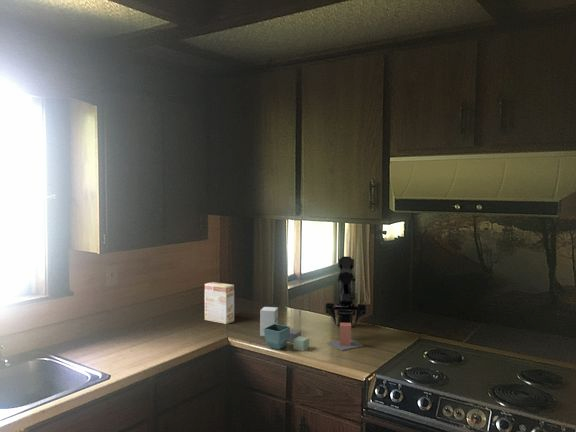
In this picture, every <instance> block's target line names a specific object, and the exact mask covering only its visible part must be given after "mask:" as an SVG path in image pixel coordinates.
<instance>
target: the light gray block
mask: <svg viewBox="0 0 576 432" xmlns="http://www.w3.org/2000/svg"><path fill="white" fill-rule="evenodd" d="M301 335H302V331H301V330H296V329H290V333H289V339H288V341H287V343H291V344H293V339H295V338H297V337H298V336H300V337H302V336H301Z"/></svg>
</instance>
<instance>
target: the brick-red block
mask: <svg viewBox="0 0 576 432" xmlns="http://www.w3.org/2000/svg"><path fill="white" fill-rule="evenodd" d="M339 340H340V346H351V340H352V327H351V323H340V327H339Z"/></svg>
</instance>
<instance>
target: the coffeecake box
mask: <svg viewBox="0 0 576 432" xmlns="http://www.w3.org/2000/svg"><path fill="white" fill-rule="evenodd" d="M204 321H209V322H215V323H217V324H218V323H220V324H224V325H228V324H230V323H233V322H235V284H232V283H231V284H229V283H224V282H223V283H222V282H216V281H212V282H207V283H204Z"/></svg>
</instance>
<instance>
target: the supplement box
mask: <svg viewBox="0 0 576 432" xmlns="http://www.w3.org/2000/svg"><path fill="white" fill-rule="evenodd" d="M259 311H260V312H259V315H260V316H259V317H260V318H259V337H265V334H264V328H266V327H268V326H270V325H272V324H278V325H279V321H278V320H279V318H278V317H279V308H278V307H275V306H264V307H262V308H261V309H260V310H259Z"/></svg>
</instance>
